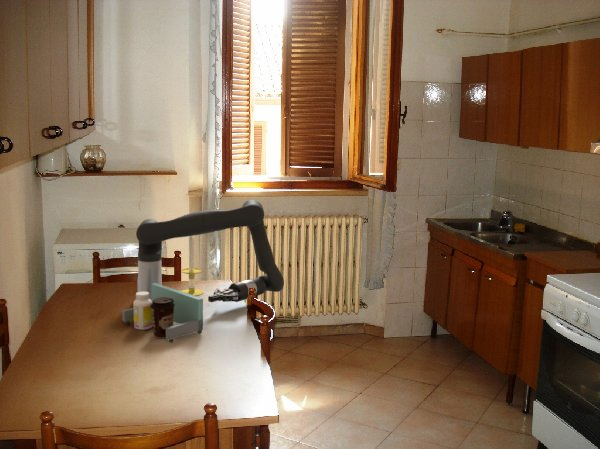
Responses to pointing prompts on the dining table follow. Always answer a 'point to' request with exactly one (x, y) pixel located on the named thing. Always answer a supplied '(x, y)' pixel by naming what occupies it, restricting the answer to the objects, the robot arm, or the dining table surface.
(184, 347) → the dining table surface
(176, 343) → the dining table surface
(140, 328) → the supplement bottle
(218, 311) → the dining table surface
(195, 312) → the teal panel stand
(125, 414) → the dining table surface
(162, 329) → the coffee cup
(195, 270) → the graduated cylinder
